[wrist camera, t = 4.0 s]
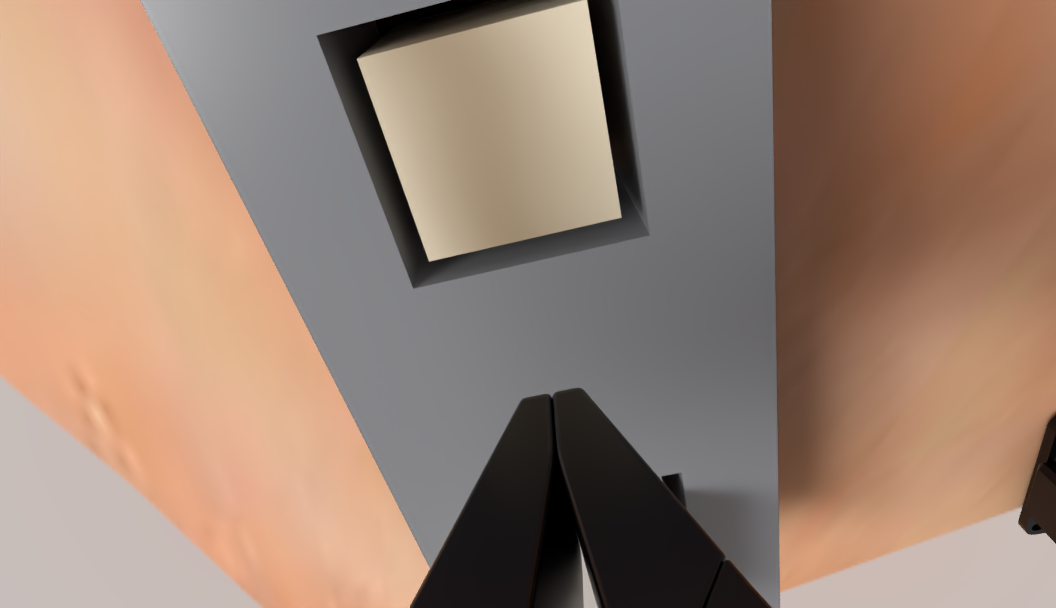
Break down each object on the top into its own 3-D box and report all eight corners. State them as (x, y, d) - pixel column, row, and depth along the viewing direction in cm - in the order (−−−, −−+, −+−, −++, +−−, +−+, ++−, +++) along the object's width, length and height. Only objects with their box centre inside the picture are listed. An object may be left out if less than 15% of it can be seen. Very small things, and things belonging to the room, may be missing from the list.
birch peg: (560, -18, 14) (586, -1, 10) (589, 147, 16) (621, 217, 12) (397, 25, 14) (356, 59, 10) (446, 181, 16) (428, 262, 12)
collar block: (673, -217, 12) (766, -299, 8) (729, 494, 24) (780, 616, 19) (220, -87, 13) (88, -101, 9) (483, 540, 24) (481, 667, 20)
